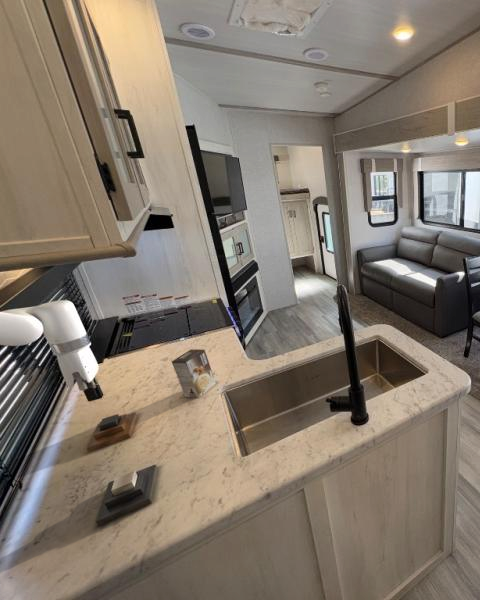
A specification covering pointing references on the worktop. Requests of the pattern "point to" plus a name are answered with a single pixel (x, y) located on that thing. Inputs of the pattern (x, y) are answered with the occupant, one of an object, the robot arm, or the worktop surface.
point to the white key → (124, 483)
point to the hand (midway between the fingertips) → (96, 398)
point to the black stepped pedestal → (128, 497)
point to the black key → (109, 422)
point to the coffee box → (194, 372)
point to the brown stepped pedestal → (113, 432)
